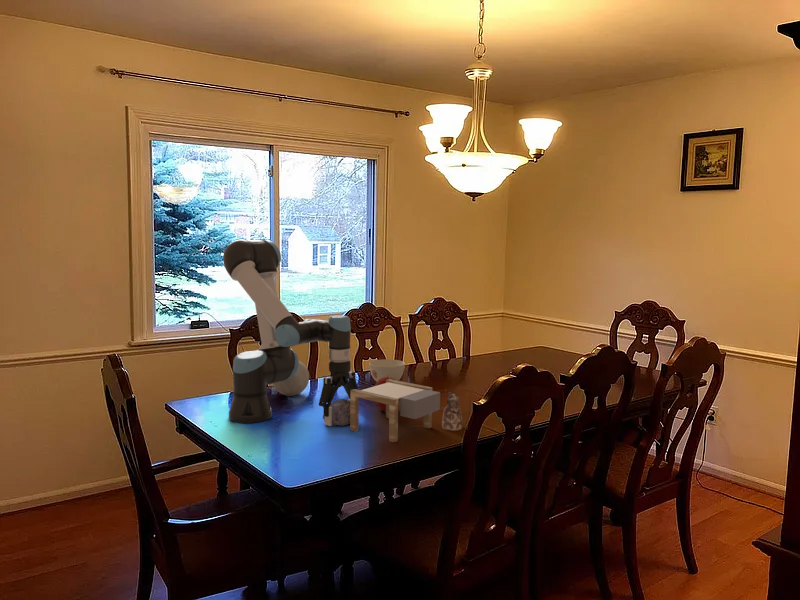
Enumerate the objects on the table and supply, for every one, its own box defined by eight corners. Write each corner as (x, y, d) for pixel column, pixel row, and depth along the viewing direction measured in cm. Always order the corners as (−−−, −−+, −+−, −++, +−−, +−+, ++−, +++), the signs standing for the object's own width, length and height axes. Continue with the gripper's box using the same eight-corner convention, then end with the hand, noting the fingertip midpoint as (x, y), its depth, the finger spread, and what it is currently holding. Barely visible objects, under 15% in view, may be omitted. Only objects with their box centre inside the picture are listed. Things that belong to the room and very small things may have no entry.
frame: (393, 442, 200) (394, 399, 198) (350, 430, 211) (350, 390, 210) (431, 427, 216) (432, 387, 215) (389, 416, 228) (389, 379, 226)
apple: (406, 410, 236) (406, 374, 234) (387, 416, 228) (387, 379, 227) (387, 405, 243) (387, 370, 241) (368, 410, 235) (368, 374, 234)
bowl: (410, 388, 270) (410, 365, 269) (375, 391, 264) (375, 368, 263) (397, 379, 285) (397, 358, 284) (363, 382, 279) (364, 360, 278)
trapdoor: (412, 420, 197) (412, 401, 196) (358, 406, 211) (358, 389, 211) (441, 409, 210) (442, 391, 209) (388, 397, 224) (389, 380, 224)
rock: (358, 411, 224) (349, 391, 219) (353, 432, 216) (344, 411, 211) (330, 415, 227) (321, 395, 222) (324, 436, 219) (315, 415, 213)
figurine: (445, 431, 212) (446, 396, 211) (438, 424, 219) (439, 391, 217) (465, 429, 214) (466, 395, 213) (457, 423, 221) (458, 390, 219)
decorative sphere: (298, 401, 246) (298, 364, 244) (265, 397, 251) (264, 361, 249) (315, 392, 260) (315, 357, 259) (283, 389, 265) (283, 354, 263)
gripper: (323, 367, 205) (323, 431, 208) (369, 356, 224) (369, 415, 226) (307, 363, 210) (308, 427, 212) (354, 353, 228) (354, 411, 231)
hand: (339, 421), depth 219 cm, fingers closed on rock, 11 cm apart
